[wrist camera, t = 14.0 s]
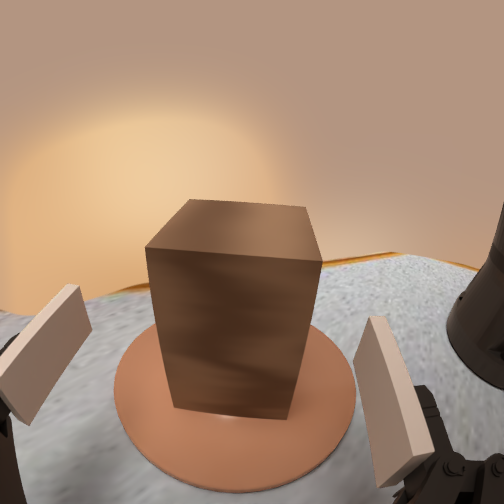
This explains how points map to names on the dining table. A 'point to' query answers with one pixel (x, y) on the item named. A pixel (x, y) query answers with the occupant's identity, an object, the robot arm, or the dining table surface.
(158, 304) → the walnut block
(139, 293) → the dining table surface
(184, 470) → the dish
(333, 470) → the dining table surface
